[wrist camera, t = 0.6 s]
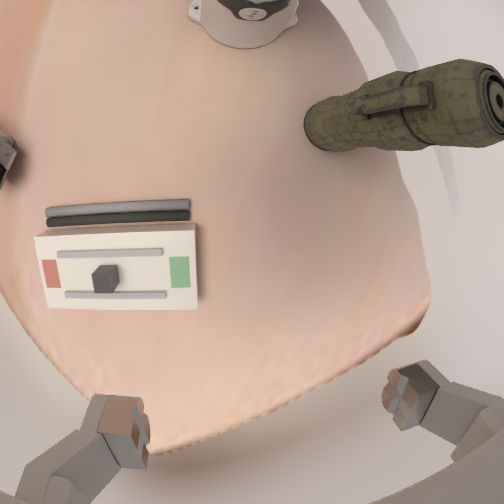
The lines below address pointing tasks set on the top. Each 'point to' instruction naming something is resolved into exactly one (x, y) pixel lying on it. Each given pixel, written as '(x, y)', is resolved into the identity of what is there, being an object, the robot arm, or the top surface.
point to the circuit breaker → (5, 155)
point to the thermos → (414, 110)
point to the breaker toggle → (105, 279)
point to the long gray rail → (118, 216)
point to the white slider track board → (120, 266)
